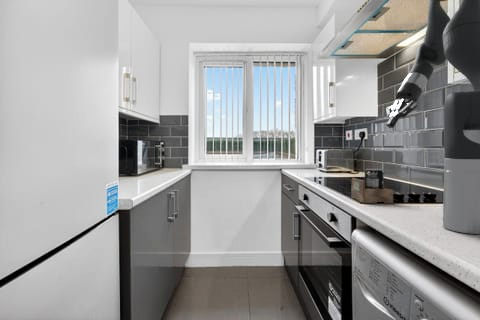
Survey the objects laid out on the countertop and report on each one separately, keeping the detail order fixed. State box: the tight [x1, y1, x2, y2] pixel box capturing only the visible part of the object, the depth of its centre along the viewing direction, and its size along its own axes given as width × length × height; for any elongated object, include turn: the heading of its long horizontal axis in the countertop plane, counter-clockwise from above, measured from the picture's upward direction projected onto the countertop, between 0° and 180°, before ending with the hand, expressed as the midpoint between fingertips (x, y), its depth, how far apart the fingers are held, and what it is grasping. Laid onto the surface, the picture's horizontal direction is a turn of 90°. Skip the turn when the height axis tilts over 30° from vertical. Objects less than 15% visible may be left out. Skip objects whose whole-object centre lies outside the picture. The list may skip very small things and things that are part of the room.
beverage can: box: [364, 168, 385, 189], centre depth 116 cm, size 7×7×12 cm
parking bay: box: [350, 177, 394, 204], centre depth 116 cm, size 11×12×8 cm
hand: (389, 126), depth 110 cm, fingers closed
